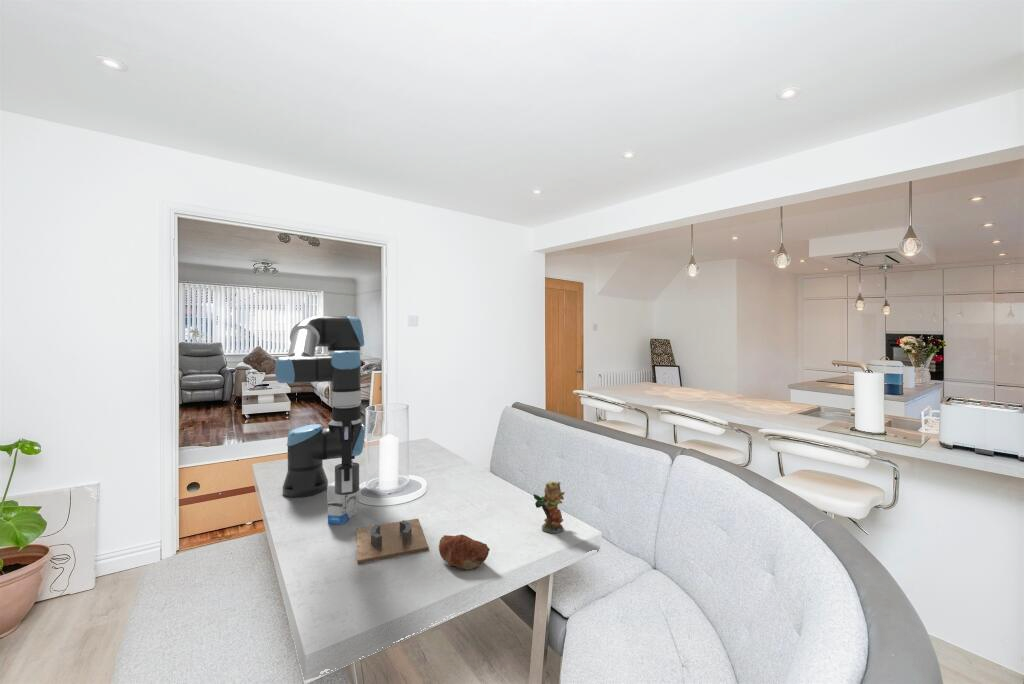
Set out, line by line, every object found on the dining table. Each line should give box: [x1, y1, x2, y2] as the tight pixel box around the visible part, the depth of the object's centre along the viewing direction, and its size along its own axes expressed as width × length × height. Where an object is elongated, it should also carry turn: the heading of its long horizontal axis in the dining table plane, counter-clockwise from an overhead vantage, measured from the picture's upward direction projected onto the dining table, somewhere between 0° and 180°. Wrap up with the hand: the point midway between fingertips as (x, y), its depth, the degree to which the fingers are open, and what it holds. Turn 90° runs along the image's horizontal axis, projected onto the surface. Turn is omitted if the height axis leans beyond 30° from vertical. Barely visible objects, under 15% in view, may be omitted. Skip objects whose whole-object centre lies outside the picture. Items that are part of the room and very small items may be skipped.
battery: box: [334, 461, 360, 495], centre depth 116 cm, size 6×6×7 cm
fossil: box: [438, 534, 491, 570], centre depth 106 cm, size 13×8×10 cm
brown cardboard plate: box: [356, 518, 430, 565], centre depth 117 cm, size 18×18×4 cm
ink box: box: [326, 480, 357, 525], centre depth 131 cm, size 9×5×12 cm, turn 168°
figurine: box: [533, 480, 566, 534], centre depth 124 cm, size 9×8×15 cm
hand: (347, 487), depth 116 cm, fingers closed on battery, 6 cm apart
